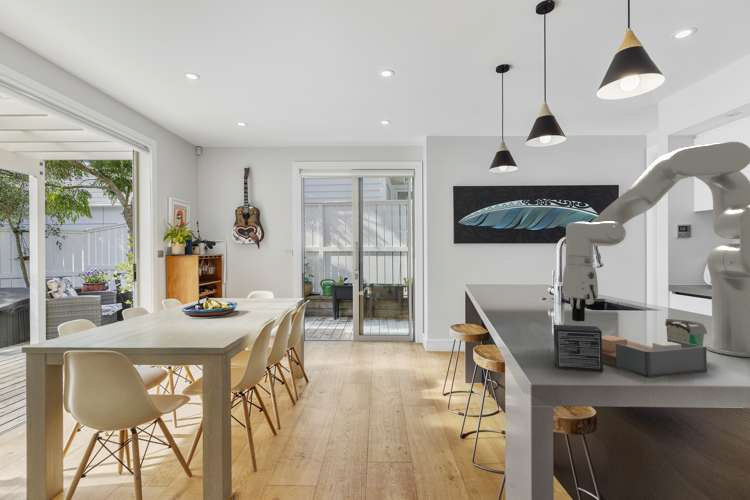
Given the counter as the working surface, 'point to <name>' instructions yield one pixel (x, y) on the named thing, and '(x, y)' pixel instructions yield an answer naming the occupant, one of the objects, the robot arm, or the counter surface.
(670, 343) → the cream tile
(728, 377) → the counter surface
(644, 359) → the tray
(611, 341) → the terracotta tile
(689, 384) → the counter surface
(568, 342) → the small box
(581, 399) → the counter surface
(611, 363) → the walnut board
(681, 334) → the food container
